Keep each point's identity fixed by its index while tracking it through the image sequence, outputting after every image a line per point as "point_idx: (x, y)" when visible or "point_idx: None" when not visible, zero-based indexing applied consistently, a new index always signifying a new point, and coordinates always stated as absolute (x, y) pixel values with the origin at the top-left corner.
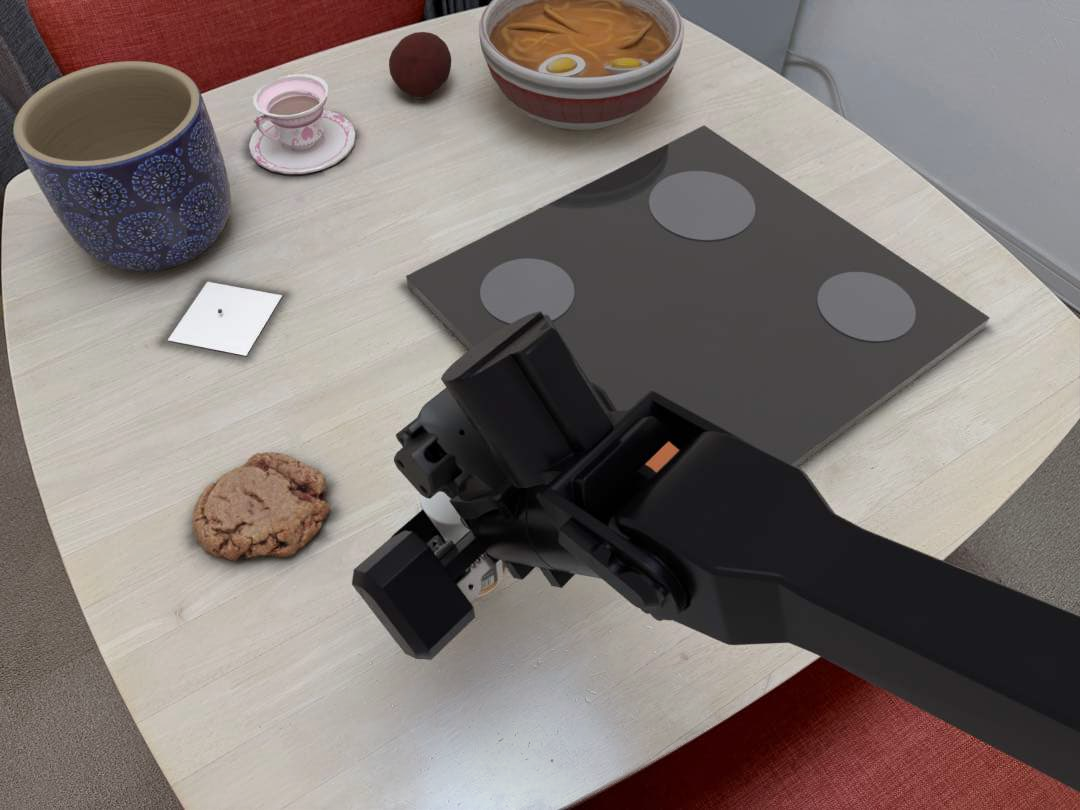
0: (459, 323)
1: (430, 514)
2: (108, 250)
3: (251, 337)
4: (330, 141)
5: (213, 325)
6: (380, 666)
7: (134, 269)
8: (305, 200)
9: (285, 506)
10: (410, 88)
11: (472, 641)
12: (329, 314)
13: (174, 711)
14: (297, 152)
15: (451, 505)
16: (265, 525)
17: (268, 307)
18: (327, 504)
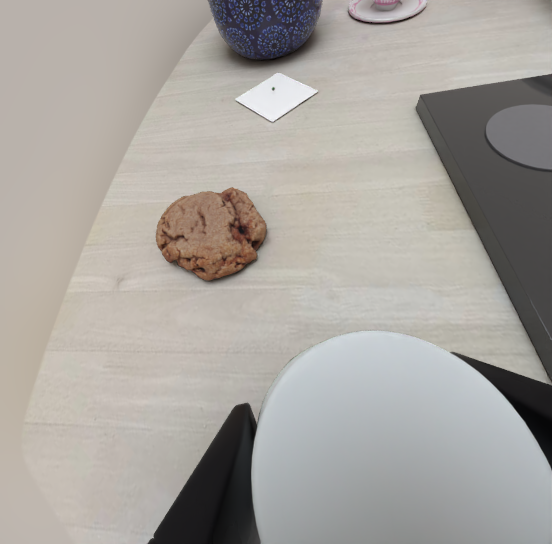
0: (453, 143)
1: (259, 505)
2: (224, 24)
3: (282, 111)
4: (405, 7)
5: (265, 98)
6: (209, 437)
7: (240, 51)
8: (368, 39)
9: (216, 238)
10: None
11: None
12: (343, 112)
13: (63, 358)
14: (378, 11)
15: (350, 525)
16: (194, 246)
17: (305, 96)
18: (255, 252)
